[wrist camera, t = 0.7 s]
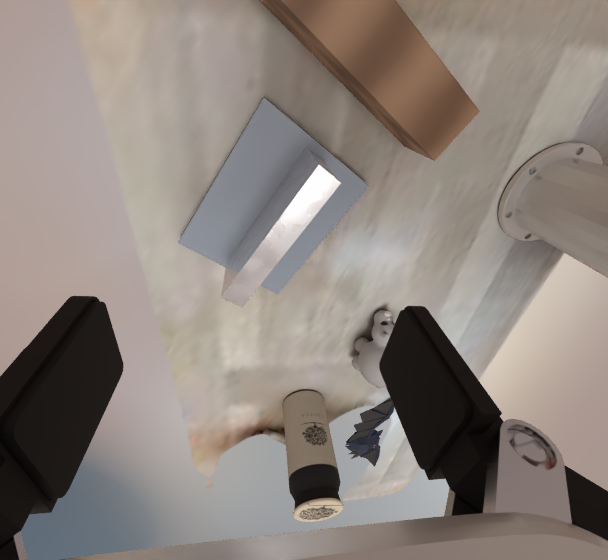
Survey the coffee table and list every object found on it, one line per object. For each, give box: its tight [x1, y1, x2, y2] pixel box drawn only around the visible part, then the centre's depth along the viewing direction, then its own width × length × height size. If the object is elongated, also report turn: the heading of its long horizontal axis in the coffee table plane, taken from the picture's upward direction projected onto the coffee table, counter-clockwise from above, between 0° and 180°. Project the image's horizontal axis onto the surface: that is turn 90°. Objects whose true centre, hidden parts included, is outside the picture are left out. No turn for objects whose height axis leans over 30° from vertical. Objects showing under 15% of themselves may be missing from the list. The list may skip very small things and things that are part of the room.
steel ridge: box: [221, 147, 341, 307], centre depth 31 cm, size 2×16×8 cm, turn 142°
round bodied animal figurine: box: [352, 310, 395, 388], centre depth 46 cm, size 7×12×8 cm, turn 169°
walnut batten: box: [260, 0, 479, 161], centre depth 25 cm, size 20×5×7 cm, turn 52°
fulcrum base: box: [178, 97, 369, 294], centre depth 34 cm, size 14×18×2 cm
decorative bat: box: [346, 401, 394, 466], centre depth 67 cm, size 30×4×10 cm
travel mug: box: [283, 391, 343, 522], centre depth 50 cm, size 8×8×18 cm
